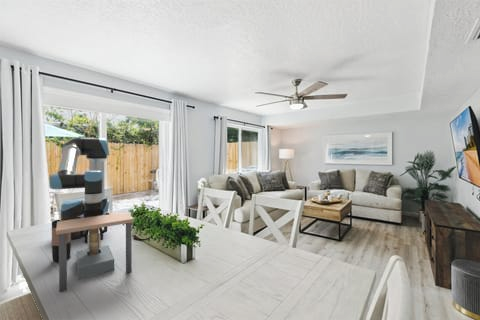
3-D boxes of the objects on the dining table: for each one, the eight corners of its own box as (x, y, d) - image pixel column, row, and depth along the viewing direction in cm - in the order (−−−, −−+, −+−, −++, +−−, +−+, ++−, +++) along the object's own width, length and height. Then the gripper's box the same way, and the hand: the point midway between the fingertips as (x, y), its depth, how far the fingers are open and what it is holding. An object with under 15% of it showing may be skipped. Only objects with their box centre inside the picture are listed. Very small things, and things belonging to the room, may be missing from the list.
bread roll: (131, 236, 148) (132, 228, 148) (148, 235, 155) (149, 227, 155) (135, 242, 139) (136, 234, 140) (153, 240, 146) (154, 233, 146)
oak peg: (88, 254, 113) (88, 227, 113) (98, 252, 116) (98, 225, 115) (89, 257, 110) (89, 229, 110) (99, 255, 112) (99, 227, 112)
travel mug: (60, 263, 111) (60, 223, 110) (47, 262, 112) (47, 222, 112) (74, 256, 118) (74, 219, 118) (62, 255, 120) (62, 218, 119)
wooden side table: (57, 276, 99) (57, 221, 99) (127, 259, 116) (127, 211, 116) (56, 293, 88) (55, 230, 87) (133, 271, 105) (133, 218, 104)
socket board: (76, 261, 114) (76, 251, 113) (108, 254, 122) (108, 245, 122) (78, 279, 98) (77, 268, 98) (114, 269, 106) (114, 259, 106)
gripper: (72, 205, 104) (73, 255, 105) (114, 200, 114) (114, 246, 115) (72, 202, 110) (72, 249, 111) (111, 198, 120) (112, 241, 121)
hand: (93, 247), depth 113 cm, fingers closed on oak peg, 4 cm apart
